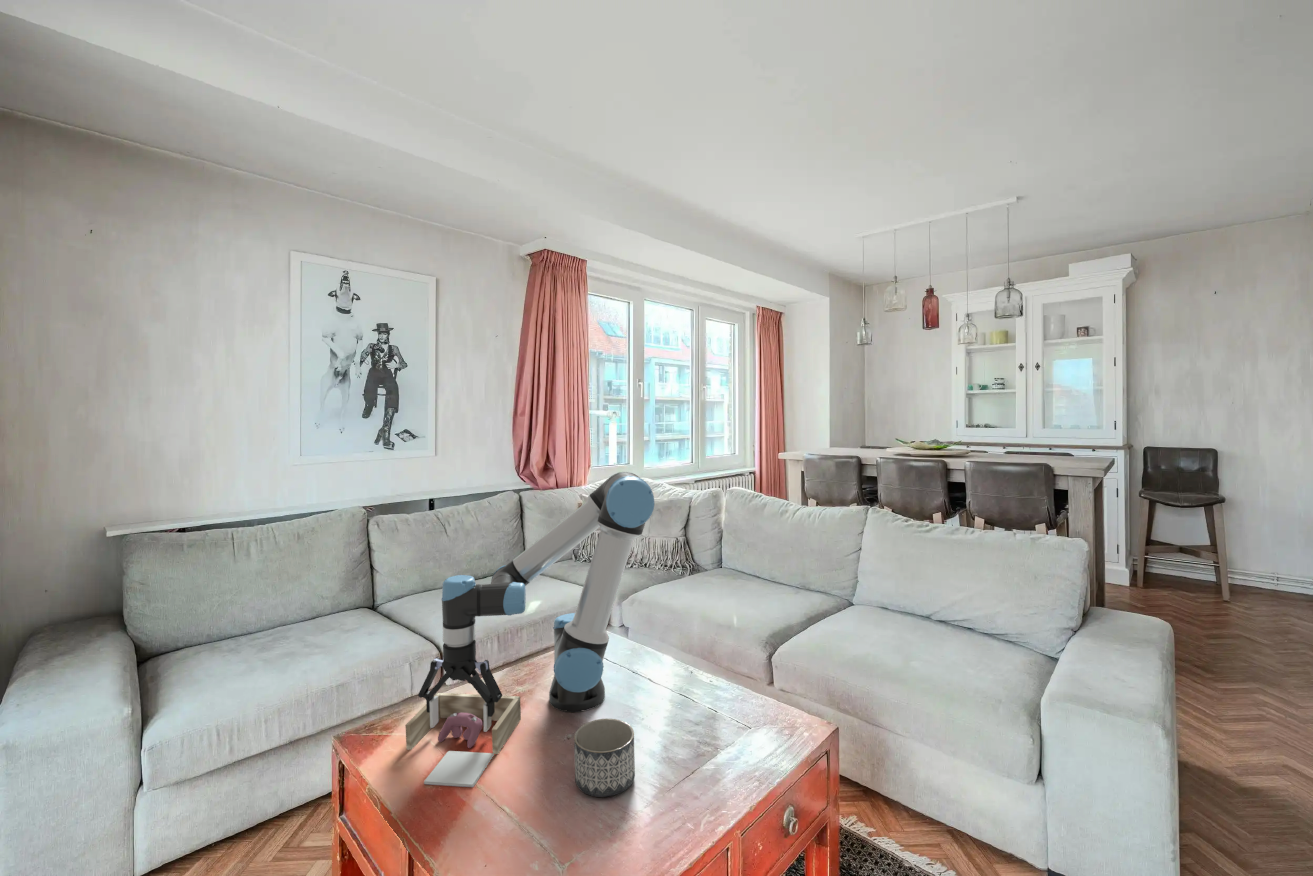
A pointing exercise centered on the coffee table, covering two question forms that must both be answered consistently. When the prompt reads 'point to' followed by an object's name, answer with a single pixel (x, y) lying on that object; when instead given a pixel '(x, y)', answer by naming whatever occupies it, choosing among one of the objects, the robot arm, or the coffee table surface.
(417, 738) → the bay
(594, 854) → the coffee table surface
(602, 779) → the planter
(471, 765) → the pad
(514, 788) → the coffee table surface
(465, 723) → the video game controller
